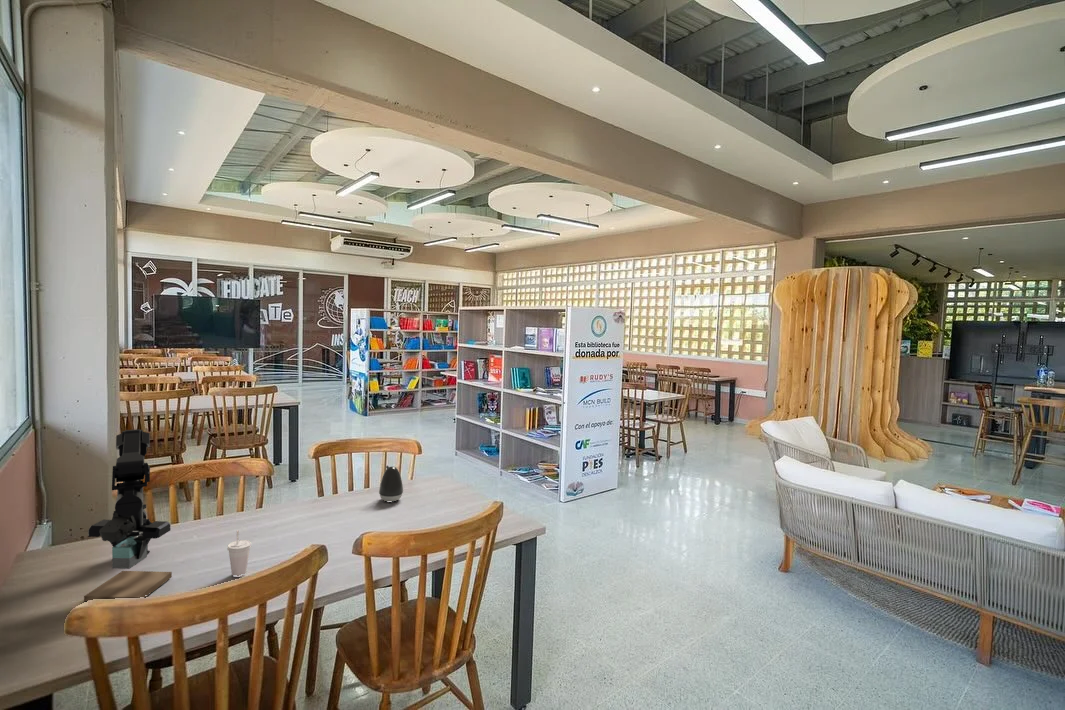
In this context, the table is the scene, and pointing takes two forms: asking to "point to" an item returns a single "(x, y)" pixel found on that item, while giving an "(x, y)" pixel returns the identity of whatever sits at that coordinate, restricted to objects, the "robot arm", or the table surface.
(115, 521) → the robot arm
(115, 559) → the housing
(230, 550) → the smoothie
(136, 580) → the stand
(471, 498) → the table surface
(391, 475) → the black egg-shaped speaker
